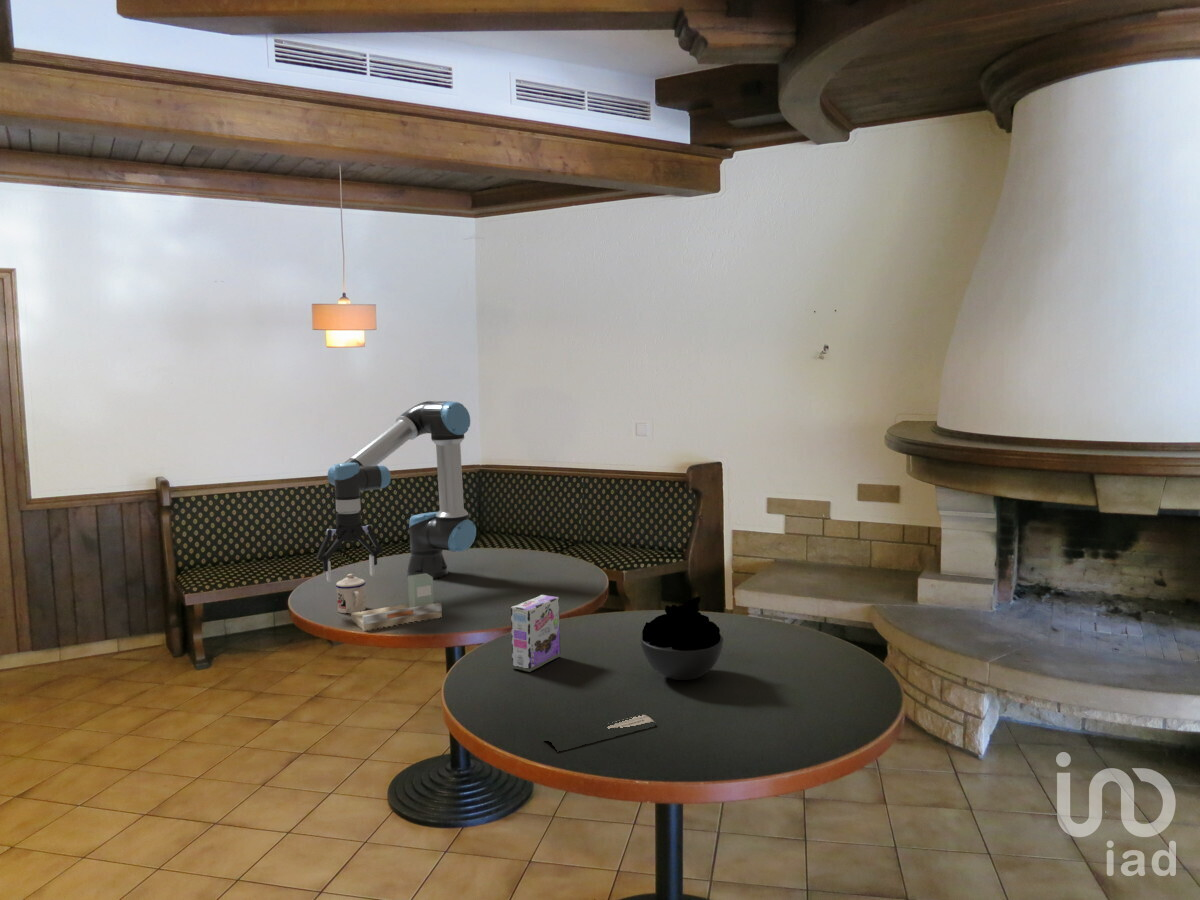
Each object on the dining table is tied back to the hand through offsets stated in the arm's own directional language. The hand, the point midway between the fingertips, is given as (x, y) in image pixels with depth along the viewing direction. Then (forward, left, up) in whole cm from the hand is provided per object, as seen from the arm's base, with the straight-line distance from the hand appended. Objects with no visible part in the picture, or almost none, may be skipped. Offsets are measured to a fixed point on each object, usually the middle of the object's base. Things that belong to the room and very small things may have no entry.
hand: (350, 578), depth 268 cm
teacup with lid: (0, 0, -11) cm, 11 cm away
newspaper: (-19, +120, -12) cm, 123 cm away
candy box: (-27, +76, -11) cm, 81 cm away
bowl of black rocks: (-52, +105, -11) cm, 118 cm away
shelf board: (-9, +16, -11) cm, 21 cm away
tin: (-17, +16, -9) cm, 25 cm away
